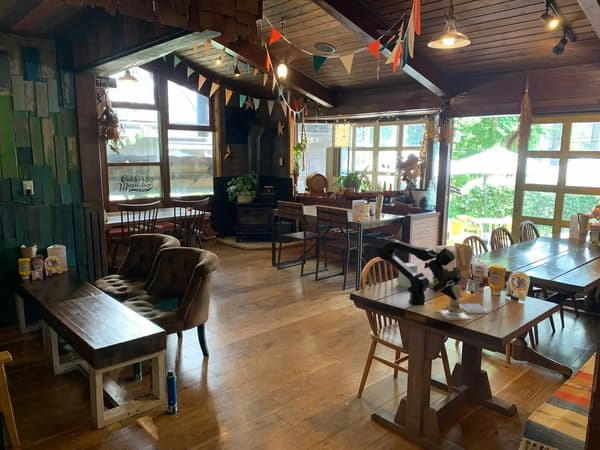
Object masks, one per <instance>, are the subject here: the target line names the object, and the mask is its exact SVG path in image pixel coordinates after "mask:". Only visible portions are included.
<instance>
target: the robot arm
mask: <svg viewBox="0 0 600 450" xmlns="http://www.w3.org/2000/svg"><path fill="white" fill-rule="evenodd" d="M396 250H397V251H401V252H403V253H408V254H410V255H413V256H415V257H416V258H417V259H418V260H420V261H422V262H425V263H424V267H423V268H424V269H429V270H430V271H431V274H432V273H433V274H434V275H435V276H434V278H437V280H438V281H439V283H438V284H436V285H435V286H433V289H432V290H433V291H434V293H438V292H439V293H442V294H444V295H445V296H447V297H448V298H452V299H454V300H457V298H456V296H455V294H454V293H453V291H452V289H451V288H452V287H453V286H454V285H458V286H459V283H460V281H462V280H463V278H462V277H461V276H462V274H461V273H462V270H461V269H460V267H458V266H455V267H452V270H449V269H448V268H445V266H448V265H449V264H450V263H451V262H453V261H454V260H455V259H456V256H455V254H454V252H452V251H451V250H449V249H448V248H447V247H444V248H442V249H441V251H440V253H438V252H435V251H436V250H434V249H433V248H431V247H420V246H416V245H413V244H409V243H407V242H403V241H400V240H399V239H394V240H391V241H390V242H389V243H387V244H385V245H383V246H379V247H378V248H376V252H375V253H376V256H377V257H378V258H379V259H381V260H382V261H384V262H388V263H389V264H390V265H392V266H393V267H394V268H395V269H396V270H398V272H399V271H400V272H401V273H402V274H403V275H404V276H405V277H406V278H408V279H409V281H410V284H411V285H412V286H410V287H408V288H407V289H408V293H410V294H409V299H408V302H409V303H410V304H411V306H425V305H426V304H425V302H426V295H425V292H426V291H427V289H429V285H430V283H431V282H430V280H429V278H428V276H426V275H425V274H424V273H422V272H420V273H418V272H417V273H415V272H414V271H413V270H411V269H410V268H409V267H408V266H407V265H406V264H405V263H406V262H404V261H402V260H401V259H400V258H399V257H397V255H396V253H395V251H396ZM428 261H429V262H428ZM461 298H462V295H461Z"/></svg>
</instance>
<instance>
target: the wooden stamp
mask: <svg viewBox="0 0 600 450" xmlns="http://www.w3.org/2000/svg"><path fill="white" fill-rule="evenodd" d="M451 289H452V291H453V293H454V294H455V296H456V298H457V300H454V299H452V298H450V297H449V298H450V300H449V303H448V302H447V303H446V310H448V311H449V313H462V311H463V312H464V310H463V308H462V307H461V305H460V304H461V298H462V297H461V296H462V288H461V286H460V285H459V284H458V285H454V286H453V287H452V288H451Z"/></svg>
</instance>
